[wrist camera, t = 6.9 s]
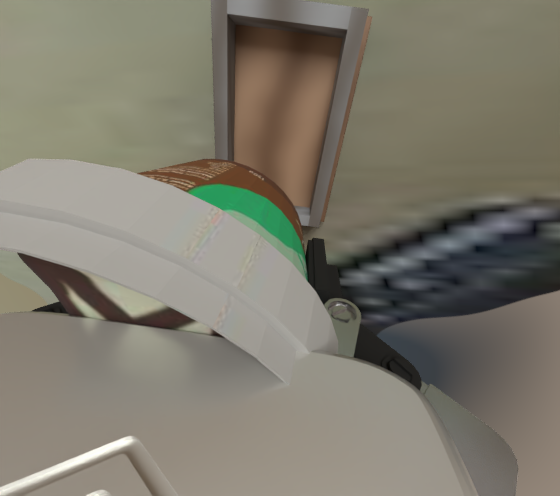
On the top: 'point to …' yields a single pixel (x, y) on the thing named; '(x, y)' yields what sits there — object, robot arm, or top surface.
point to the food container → (170, 251)
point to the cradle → (286, 91)
